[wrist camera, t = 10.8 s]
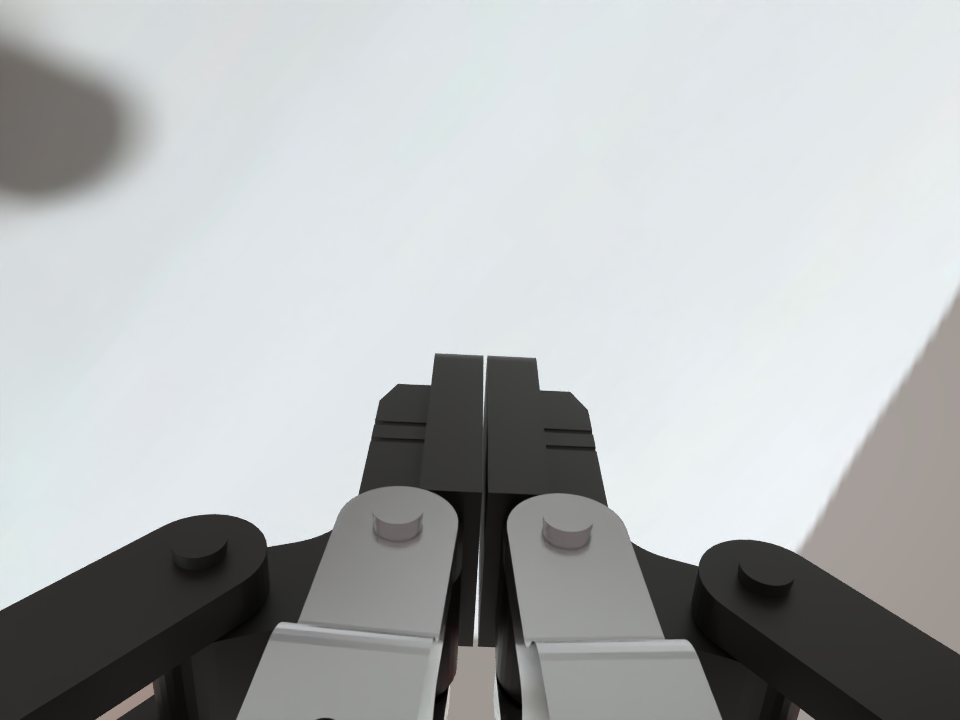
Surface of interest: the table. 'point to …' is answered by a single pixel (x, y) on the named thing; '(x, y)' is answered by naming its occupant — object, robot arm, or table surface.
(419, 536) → the robot arm
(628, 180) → the table surface
